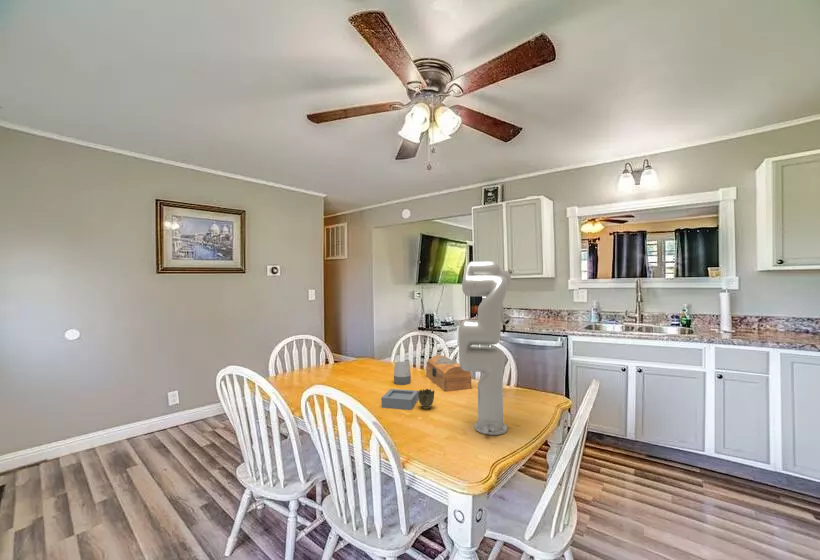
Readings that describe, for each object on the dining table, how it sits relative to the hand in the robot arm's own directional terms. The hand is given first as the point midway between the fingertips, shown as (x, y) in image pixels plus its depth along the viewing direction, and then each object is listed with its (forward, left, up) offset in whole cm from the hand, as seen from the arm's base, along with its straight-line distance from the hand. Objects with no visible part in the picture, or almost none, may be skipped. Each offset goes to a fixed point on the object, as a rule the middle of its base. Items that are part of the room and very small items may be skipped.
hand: (493, 332), depth 188 cm
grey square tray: (-26, +42, -31) cm, 59 cm away
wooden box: (+11, +26, -31) cm, 42 cm away
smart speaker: (+5, +50, -31) cm, 59 cm away
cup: (-29, +29, -31) cm, 52 cm away
